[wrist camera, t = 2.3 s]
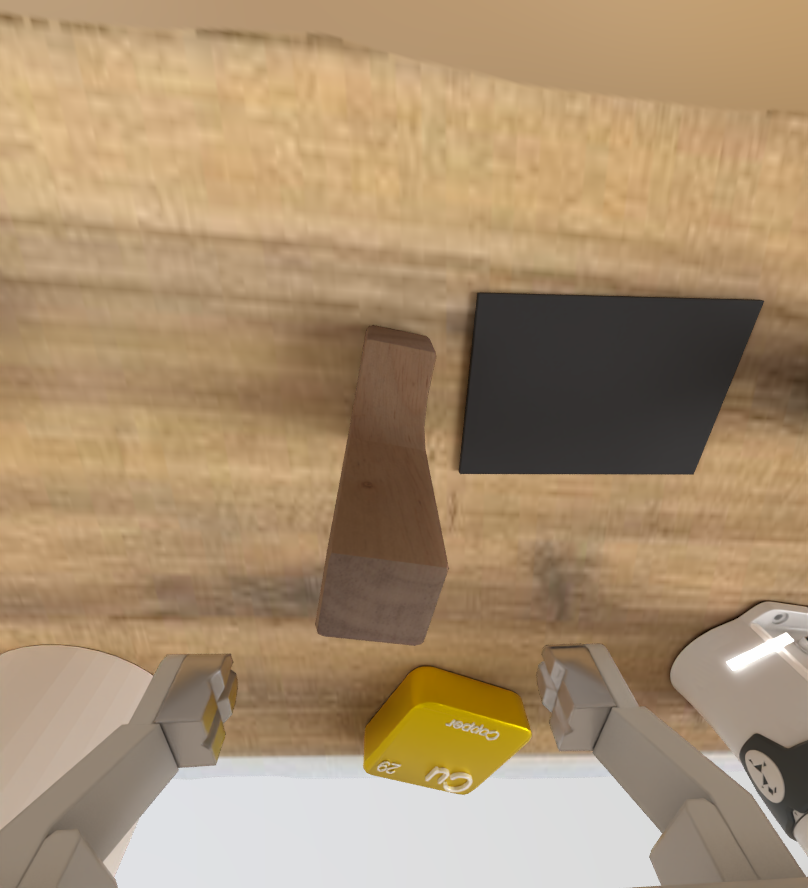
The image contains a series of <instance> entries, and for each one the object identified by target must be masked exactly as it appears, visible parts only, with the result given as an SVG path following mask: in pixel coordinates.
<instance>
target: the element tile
mask: <svg viewBox="0 0 808 888" xmlns="http://www.w3.org/2000/svg"><path fill="white" fill-rule="evenodd" d="M531 737H532V733H531V729H530V726H529V723H528V719H527V716H526V713H525V709H524V706H523V703H522V699H521V697H520V696H519V695H518V694H516V693H514V692H512V691H509V690H506V689H503V688H500V687H496V686H493V685H490V684H487V683H484V682H480V681H477V680H474V679H471V678H467V677H464V676H461V675H458V674H455V673H451V672H448V671H445V670H442V669H438V668H435V667H430V666H423V667H418V668H416V669H414V670H413V671H411V672H410V673H409V674H408V675H407V677H406V678H405V679H404V680H403V682H402V683H401V684H400V685H399V686H398V688H397V689H396V690H395V691H394V693H393V694H392V695H391V696H390V697H389V699H388V700H387V701H386V702H385V703H384V705H383V706H382V707H381V708H380V710H379V711H378V712H377V713H376V714H375V716H374V717H373V718H372V719H371V721H370V722H369V723H368V724H367V725H366V728H365V737H364V763H363V768H364V770H365V771H366V772H367V773H368V774H371V775H374V776H379V777H383V778H388V779H392V780H397V781H401V782H406V783H410V784H415V785H420V786H424V787H428V788H433V789H437V790H442V791H446V792H450V793H456V794H462V795H464V794H468V793H469V792H471V791H473V790H474V789H475V788H477V787H478V786H479V785H480V784H481V783H482V782H484V781H485V780H486V779H487V778H488V777H489V776H490V775H492V774H493V773H494V772H495V771H496V770H497V769H498V768H500V767H501V766H502V765H503V764H504V763H505V762H506V761H507V760H509V759H510V758H511V757H512V756H513V755H514V754H515V753H517V752H518V751H519V750H520V749H521V748H522V747H523V746H525V745H526V744H527V743H528V742H529V740H530V739H531Z"/></svg>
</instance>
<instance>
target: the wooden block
mask: <svg viewBox="0 0 808 888" xmlns="http://www.w3.org/2000/svg"><path fill="white" fill-rule="evenodd" d="M435 360H436V352H435V350H434V348H433V345H432V343H431V341H430V339H429V338H428V337H426V336H423V335H418V334H413V333H408V332H403V331H398V330H394V329H389V328H384V327H379V326H374V325H373V326H369V327H368V329H367V330H366V336H365V341H364V346H363V352H362V358H361V364H360V370H359V376H358V382H357V388H356V394H355V400H354V406H353V411H352V417H351V423H350V428H349V434H348V440H347V445H346V451H345V456H344V461H343V467H342V472H341V478H340V483H339V489H338V494H337V500H336V505H335V511H334V516H333V522H332V527H331V532H330V538H329V543H328V549H327V555H326V561H325V567H324V573H323V579H322V585H321V591H320V597H319V603H318V610H317V616H316V622H315V625H316V629H317V632H318V634H320V635H322V636H326V637H336V638H346V639H356V640H365V641H375V642H385V643H395V644H404V645H414V646H415V645H419V644H422V643H423V642H424V639H425V636H426V634H427V631H428V628H429V625H430V622H431V619H432V616H433V613H434V610H435V607H436V604H437V601H438V598H439V596H440V593H441V590H442V587H443V584H444V581H445V578H446V575H447V572H448V569H449V567H448V562H447V557H446V552H445V547H444V542H443V537H442V531H441V526H440V521H439V516H438V511H437V506H436V501H435V496H434V491H433V486H432V481H431V476H430V471H429V465H428V460H427V455H426V450H425V431H424V426H425V416H426V407H427V398H428V393H429V388H430V383H431V379H432V374H433V370H434V365H435Z"/></svg>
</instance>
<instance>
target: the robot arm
mask: <svg viewBox="0 0 808 888" xmlns="http://www.w3.org/2000/svg"><path fill="white" fill-rule="evenodd" d="M542 656H543V659H544V661H543V662H541V663H540V664H539V665H538V669H537V686H538V691H539V695H540V698H541V701H542V704H543V705H544V706H545V707H546V708H547V709H548V710H549V711H550V712H551V717H550V720H549V724H550V727H551V730H552V732H553V735H554V738H555V741H556V744H557V747H558V749H559V751H593V754H594V755H595V756H596V757H597V759H598V760H599V761H600V762H601V763H602V764H603V766H604V767H605V768H606V769H607V770H608V771H609V772H610V774H611V775H612V776H613V777H614V778H615V779H616V780H617V782H618V783H619V784H620V785H621V786H622V787H623V789H624V790H625V791H626V792H627V793H628V794H629V795H630V797H631V798H632V799H633V800H634V801H635V802H636V803H637V805H638V806H639V807H640V808H641V809H642V810H643V812H644V813H645V814H646V815H647V816H648V817H649V818H650V820H651V821H652V822H653V823H654V824H655V825H656V827H657V828H658V829H659V830H660V831H661V832H662V833H663V834H662V835H661V837H660V838H659V840H658V841H657V843H656V844H655V845H654V847H653V848H652V850H651V853H650V856H649V857H650V860H651V862H652V864H653V867H654V869H655V871H656V874H657V876H658V879H659V881H660V883H661V886H653V887H652V886H651V887H634V888H808V877H806V876H805V874H804V873H803V871H802V870H801V868H800V867H799V865H798V864H797V862H796V861H795V859H794V858H793V856H792V855H791V853H790V852H789V850H788V849H787V847H786V846H785V844H784V843H783V842H782V840H781V838H780V837H779V835H778V834H777V832H776V831H775V829H774V828H773V826H772V825H771V823H770V822H769V820H768V819H767V817H766V816H765V814H764V813H763V811H762V810H761V808H760V807H759V805H758V804H757V802H756V801H755V799H754V798H753V796H752V795H751V794H750V793H749V792H748V791H747V790H745V789H744V788H743V787H742V786H740V785H739V784H738V783H737V782H736V781H735V780H733V779H732V778H731V777H729V776H728V775H727V774H726V773H725V772H724V771H722V770H721V769H720V768H719V767H718V766H716V765H715V764H714V763H713V762H712V761H710V760H709V759H708V758H707V757H705V756H704V755H703V754H702V753H701V752H699V751H698V750H697V749H696V748H695V747H693V746H692V745H691V744H690V743H689V742H687V741H686V740H685V739H684V738H682V737H681V736H680V735H679V734H678V733H676V732H675V731H674V730H673V729H672V728H670V727H669V726H668V725H667V724H666V723H664V722H663V721H662V720H661V719H660V718H658V717H657V716H656V715H655V714H653V713H652V712H651V711H650V710H649V709H647V708H646V707H643V706H639V705H638V703H637V702H636V700H635V698H634V696H633V694H632V693H631V691H630V689H629V687H628V685H627V684H626V682H625V680H624V678H623V677H622V675H621V673H620V671H619V669H618V668H617V666H616V664H615V662H614V660H613V659H612V657H611V655H610V653H609V651H608V650H607V648H606V647H605V646H604V645H603V644H599V643H598V644H560V645H546V646H545V647H543V651H542ZM232 664H233V660H232V656H231V654H170V655H167V656H166V657H165V658H164V659H163V660H162V661H161V663H160V664H159V666H158V668H157V670H156V672H155V674H154V676H153V678H152V680H151V682H150V683H149V685H148V687H147V689H146V691H145V693H144V695H143V697H142V699H141V701H140V703H139V704H138V706H137V708H136V710H135V712H134V714H133V716H132V718H131V720H130V722H129V723H128V724H125V725H121V726H120V727H118V728H117V729H116V730H115V731H114V732H113V733H111V734H110V735H109V736H108V737H107V738H106V739H105V740H103V741H102V742H101V743H100V744H99V745H98V746H97V747H95V748H94V749H93V750H92V751H91V752H90V753H88V754H87V755H86V756H85V757H84V758H83V759H82V760H80V761H79V762H78V763H77V764H76V765H75V766H74V767H72V768H71V769H70V770H69V771H68V772H67V773H65V774H64V775H63V776H62V777H61V778H60V779H59V780H57V781H56V782H55V783H54V784H53V785H52V786H51V787H49V788H48V789H47V790H46V791H45V792H44V793H42V794H41V795H40V796H39V797H38V798H37V799H36V800H34V801H33V802H32V803H31V804H30V805H29V806H27V807H26V808H25V809H24V810H23V811H22V812H21V813H19V814H18V815H17V816H16V817H15V818H14V819H13V820H11V821H10V822H9V823H8V824H7V825H6V826H4V827H3V828H2V829H1V830H0V888H118V887H117V883H116V880H115V878H114V877H113V876H112V874H111V873H110V871H109V870H108V869H107V867H106V866H105V865H104V863H103V861H104V860H105V859H106V858H107V857H108V855H109V854H110V853H111V852H112V851H113V849H114V848H115V847H116V846H117V844H118V843H119V842H120V841H121V840H122V838H123V837H124V836H125V835H126V834H127V832H128V831H129V830H130V829H131V828H132V826H133V825H134V824H135V823H136V821H137V820H138V819H139V818H140V817H141V815H142V814H143V813H144V812H145V811H146V809H147V808H148V807H149V806H150V804H151V803H152V802H153V801H154V800H155V798H156V797H157V796H158V795H159V793H160V792H161V791H162V790H163V789H164V788H165V786H166V785H167V784H168V783H169V782H170V780H171V779H172V778H173V777H174V775H175V774H176V773H177V772H178V770H179V769H178V768H183V767H197V766H211V765H216V763H217V760H218V757H219V754H220V751H221V748H222V744H223V741H224V738H225V735H226V733H225V730H224V726H223V723H224V722H225V721H226V720H227V719H228V718H229V717H230V716H231V715H232V713H233V709H234V706H235V703H236V697H237V690H238V679H237V675H236V673H235V672H233V671H232V670H231V667H232ZM670 679H671V683H672V685H673V687H674V688H675V689H676V690H677V691H678V692H679V693H680V694H681V695H682V696H683V697H684V698H685V699H686V700H687V701H688V702H689V703H690V704H691V705H692V706H693V707H694V708H695V709H696V710H697V711H698V712H699V713H700V714H701V715H702V717H703V718H704V719H705V720H706V721H707V722H708V723H709V725H710V726H711V727H712V728H713V729H714V730H715V732H716V733H717V734H718V735H719V736H720V738H721V739H722V740H723V741H724V742H725V744H726V745H727V746H728V747H729V749H730V750H731V751H732V752H733V753H734V755H735V756H736V757H737V758H738V760H739V761H740V762H741V763H742V765H743V767H744V769H745V771H746V772H747V774H748V776H749V778H750V780H751V781H752V783H753V785H754V787H755V789H756V791H757V792H758V794H759V795H760V797H761V798H762V800H763V801H764V802H765V804H766V806H767V807H768V809H769V810H770V811H771V813H772V814H773V816H774V817H775V818H776V820H777V821H778V823H779V824H780V825H781V827H782V828H783V830H784V831H785V832H786V834H787V835H788V836H789V837H790V838H791V839H793V840H795V841H797V842H798V843H799V844H800V845H801V847H802V849H803V850H804V852H805V853H806V854H807V856H808V607H805V606H798V605H791V604H784V603H777V602H769V601H768V602H763V603H760V604H758V605H756V606H755V607H753V608H752V609H750V610H749V611H747V612H746V613H744V614H743V615H742V616H740V617H739V618H737V619H735V620H733V621H730V622H728V623H726V624H723V625H721V626H718V627H716V628H714V629H712V630H710V631H708V632H706V633H704V634H703V635H701V636H700V637H698V638H697V639H695V640H694V641H693V642H691V643H690V644H689V645H688V646H687V647H686V648H685V649H684V650H683V651H682V652H681V653H680V654H679V655H678V657H677V658H676V660H675V661H674V663H673V665H672V668H671V672H670Z"/></svg>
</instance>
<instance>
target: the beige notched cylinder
mask: <svg viewBox="0 0 808 888" xmlns="http://www.w3.org/2000/svg"><path fill="white" fill-rule="evenodd" d="M152 678H153V675H151V674H150V673H149V672H147V671H145V670H143V669H142V668H140V667H138V666H136V665H135V664H132V663H130V662H128V661H126V660H123V659H121V658H119V657H116V656H113V655H110V654H106V653H103V652H100V651H96V650H91V649H86V648H81V647H73V646H64V645H38V646H30V647H22V648H18V649H15V650H11V651H7V652H5V653H3V654H1V655H0V830H1V829H2V828H3V827H4V826H6V825H7V824H8V823H9V822H10V821H11V820H13V819H14V818H15V817H16V816H17V815H18V814H19V813H21V812H22V811H23V810H24V809H25V808H26V807H27V806H29V805H30V804H31V803H32V802H33V801H34V800H36V799H37V798H38V797H39V796H40V795H41V794H42V793H44V792H45V791H46V790H47V789H48V788H49V787H51V786H52V785H53V784H54V783H55V782H56V781H57V780H59V779H60V778H61V777H62V776H63V775H64V774H65V773H67V772H68V771H69V770H70V769H71V768H72V767H74V766H75V765H76V764H77V763H78V762H79V761H80V760H82V759H83V758H84V757H85V756H86V755H87V754H88V753H90V752H91V751H92V750H93V749H94V748H95V747H97V746H98V745H99V744H100V743H101V742H102V741H103V740H105V739H106V738H107V737H108V736H109V735H110V734H111V733H113V732H114V731H115V730H116V729H117V728H118V727H120V726H121V725H125V724H128V723H129V722H130V720H131V718H132V716H133V714H134V712H135V710H136V708H137V706H138V704H139V703H140V701H141V699H142V697H143V695H144V693H145V691H146V689H147V687H148V685H149V683H150V682H151V680H152ZM138 820H139V819H138ZM138 820H137V821H136V823H135V824H134V825H133V826H132V828H131V829H130V830H129V831H128V832H127V834H126V835H125V836H124V837H123V838H122V840H121V841H120V842H119V843H118V844H117V846H116V847H115V848H114V849H113V851H112V852H111V853H110V854H109V855H108V857H107V858H106V859H105V860H104V861H103V863H104V865H105V866H106V867H107V869H108V870H109V871H110V873H111V874H112V876H113V877H115V874H116V872H117V870H118V867H119V865H120V862H121V860H122V858H123V855H124V853H125V851H126V848H127V846H128V844H129V841H130V839H131V836H132V834H133V832H134V829H135V827H136V825H137V822H138Z"/></svg>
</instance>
